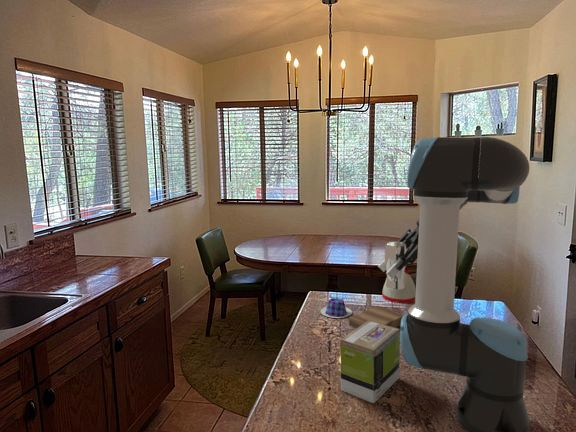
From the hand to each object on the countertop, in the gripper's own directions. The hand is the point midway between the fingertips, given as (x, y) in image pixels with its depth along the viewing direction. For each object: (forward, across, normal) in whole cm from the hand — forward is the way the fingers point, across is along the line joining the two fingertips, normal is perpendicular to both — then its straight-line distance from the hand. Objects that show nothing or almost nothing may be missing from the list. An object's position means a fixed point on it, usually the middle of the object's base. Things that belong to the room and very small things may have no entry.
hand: (385, 272), depth 140 cm
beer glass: (+1, 0, -6) cm, 7 cm away
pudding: (+24, +19, -7) cm, 31 cm away
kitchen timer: (+2, +31, -29) cm, 42 cm away
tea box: (+26, -30, -4) cm, 40 cm away
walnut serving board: (+15, +6, -15) cm, 22 cm away
